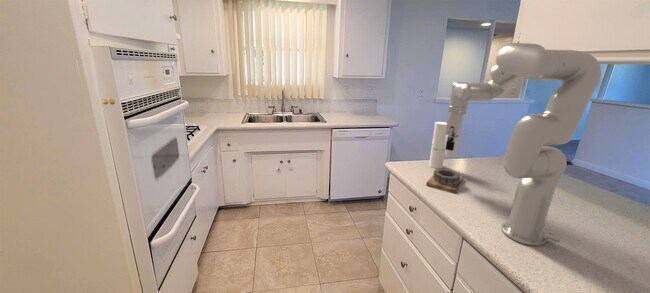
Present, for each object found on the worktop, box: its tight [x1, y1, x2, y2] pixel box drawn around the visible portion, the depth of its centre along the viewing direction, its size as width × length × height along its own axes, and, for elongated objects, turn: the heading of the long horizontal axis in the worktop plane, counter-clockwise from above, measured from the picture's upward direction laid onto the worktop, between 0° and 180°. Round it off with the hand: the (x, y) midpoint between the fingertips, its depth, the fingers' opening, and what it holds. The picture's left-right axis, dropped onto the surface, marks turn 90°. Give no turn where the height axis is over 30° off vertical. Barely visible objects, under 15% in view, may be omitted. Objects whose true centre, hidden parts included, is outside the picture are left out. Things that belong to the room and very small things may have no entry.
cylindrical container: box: [428, 121, 449, 170], centre depth 151 cm, size 7×7×25 cm
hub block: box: [426, 168, 465, 194], centre depth 133 cm, size 13×18×5 cm
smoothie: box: [444, 134, 461, 158], centre depth 127 cm, size 6×6×14 cm
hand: (451, 147), depth 128 cm, fingers closed on smoothie, 6 cm apart
